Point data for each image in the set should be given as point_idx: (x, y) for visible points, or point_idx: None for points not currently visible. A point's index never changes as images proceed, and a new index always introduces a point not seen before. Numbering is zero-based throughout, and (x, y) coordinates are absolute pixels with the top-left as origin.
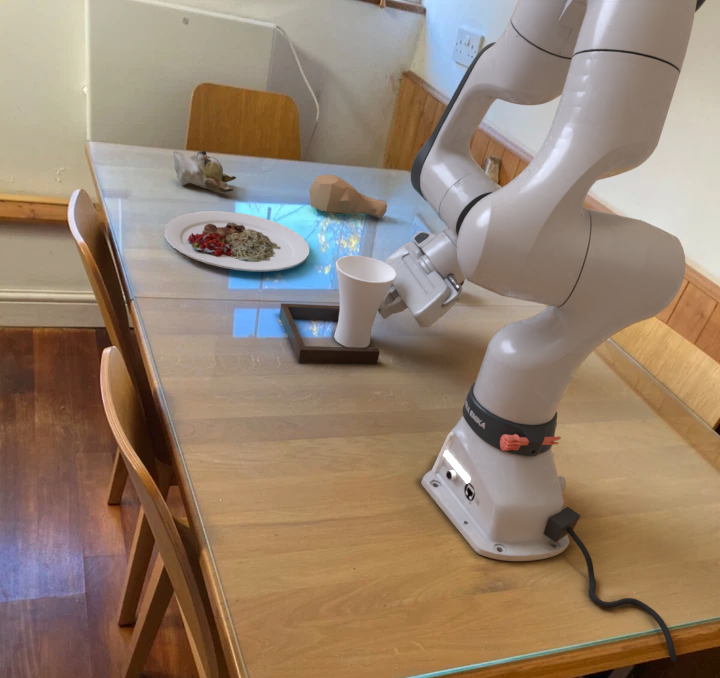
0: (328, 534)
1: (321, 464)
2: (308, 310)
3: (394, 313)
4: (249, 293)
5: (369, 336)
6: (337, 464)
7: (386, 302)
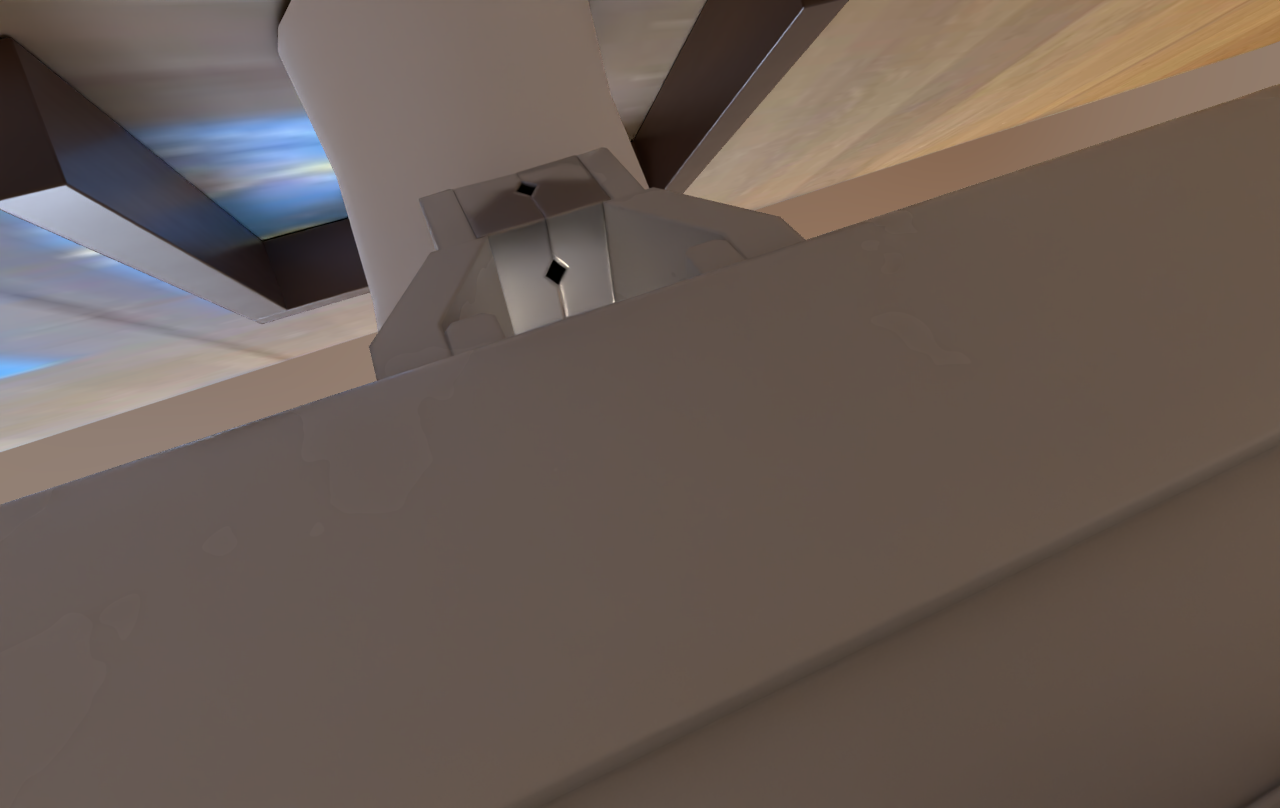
0: (1251, 7)
1: (1110, 34)
2: (245, 270)
3: (675, 193)
4: (40, 344)
5: (567, 29)
6: (1153, 8)
7: (501, 311)
